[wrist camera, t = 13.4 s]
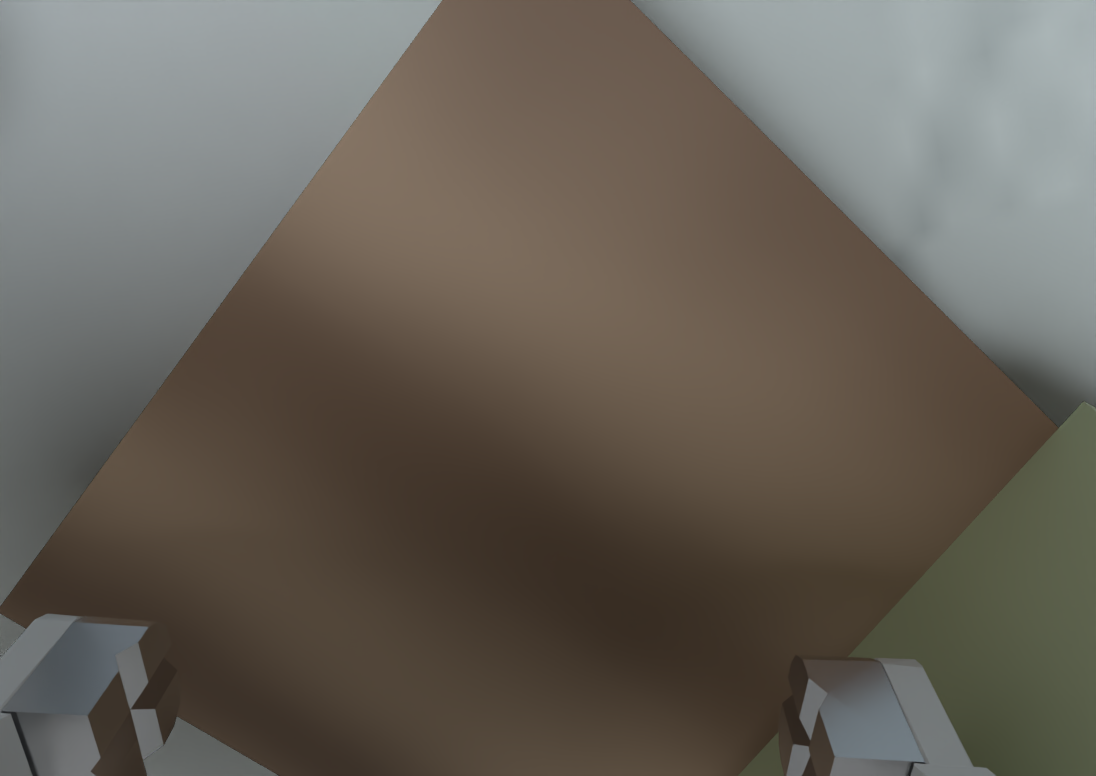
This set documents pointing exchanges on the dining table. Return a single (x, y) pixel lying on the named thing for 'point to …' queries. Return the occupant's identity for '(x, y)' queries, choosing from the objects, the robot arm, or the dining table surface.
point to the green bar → (1010, 620)
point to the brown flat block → (538, 431)
